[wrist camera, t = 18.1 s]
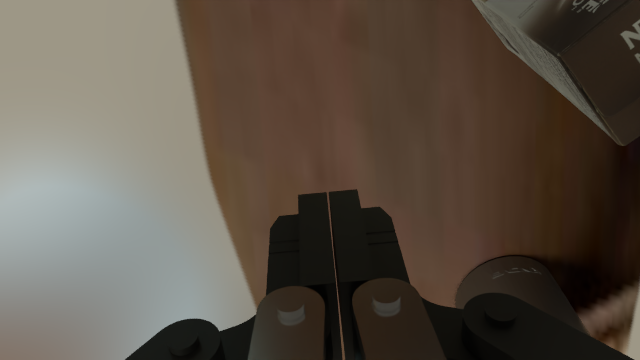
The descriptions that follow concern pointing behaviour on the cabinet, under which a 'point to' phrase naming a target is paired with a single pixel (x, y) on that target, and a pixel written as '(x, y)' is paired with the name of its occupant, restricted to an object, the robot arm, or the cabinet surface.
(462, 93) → the cabinet surface
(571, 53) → the coffee box
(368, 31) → the cabinet surface
